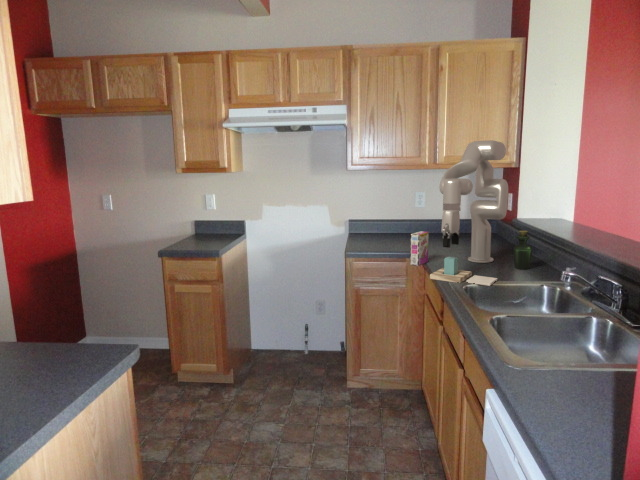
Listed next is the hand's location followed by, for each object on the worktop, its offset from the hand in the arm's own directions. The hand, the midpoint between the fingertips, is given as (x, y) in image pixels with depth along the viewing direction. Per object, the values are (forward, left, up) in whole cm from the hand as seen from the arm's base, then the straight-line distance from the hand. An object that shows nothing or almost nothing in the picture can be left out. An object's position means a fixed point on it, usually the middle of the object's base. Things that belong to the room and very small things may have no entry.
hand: (450, 245), depth 197 cm
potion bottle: (-34, +22, -15) cm, 43 cm away
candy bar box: (-19, -24, -15) cm, 34 cm away
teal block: (-1, 0, -15) cm, 15 cm away
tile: (-1, +14, -15) cm, 20 cm away
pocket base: (-1, 0, -15) cm, 15 cm away
